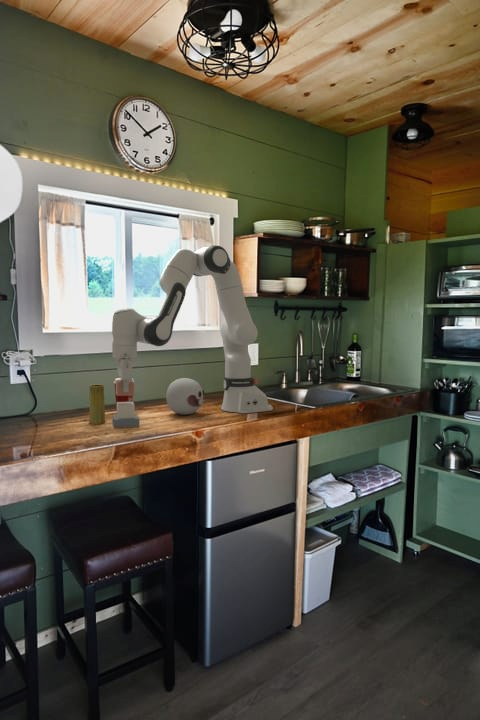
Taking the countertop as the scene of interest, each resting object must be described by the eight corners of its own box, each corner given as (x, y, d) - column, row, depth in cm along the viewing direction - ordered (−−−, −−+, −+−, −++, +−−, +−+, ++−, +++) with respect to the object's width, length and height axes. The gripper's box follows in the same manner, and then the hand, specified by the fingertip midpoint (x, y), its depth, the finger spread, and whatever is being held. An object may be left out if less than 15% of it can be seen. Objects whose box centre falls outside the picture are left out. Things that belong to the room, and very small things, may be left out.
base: (136, 421, 191) (136, 413, 191) (139, 426, 183) (139, 418, 182) (112, 422, 188) (112, 414, 188) (114, 427, 180) (114, 419, 179)
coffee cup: (129, 418, 196) (129, 380, 194) (110, 417, 198) (110, 379, 196) (138, 413, 204) (138, 377, 203) (119, 412, 206) (119, 377, 204)
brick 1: (132, 392, 188) (132, 379, 187) (133, 395, 182) (133, 381, 182) (115, 393, 186) (115, 380, 186) (117, 395, 180) (117, 382, 180)
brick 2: (132, 414, 189) (132, 401, 188) (134, 417, 183) (134, 404, 183) (116, 415, 187) (116, 402, 187) (118, 418, 181) (117, 405, 181)
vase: (108, 421, 190) (108, 384, 188) (99, 424, 184) (98, 387, 183) (95, 420, 192) (94, 383, 190) (85, 423, 186) (84, 385, 185)
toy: (196, 419, 195) (196, 381, 194) (160, 416, 199) (160, 379, 197) (208, 411, 210) (208, 376, 208) (174, 409, 213) (174, 375, 212)
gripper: (136, 355, 174) (136, 394, 175) (130, 350, 193) (130, 385, 195) (117, 355, 172) (118, 395, 173) (114, 350, 191) (114, 386, 193)
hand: (124, 390), depth 184 cm, fingers closed on brick 1, 6 cm apart
